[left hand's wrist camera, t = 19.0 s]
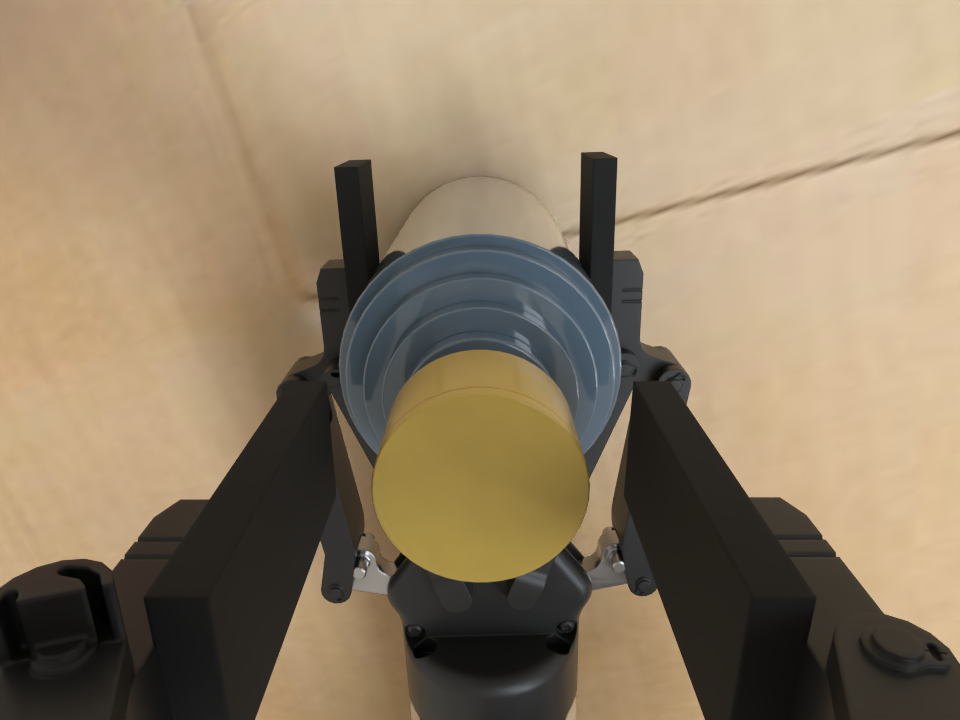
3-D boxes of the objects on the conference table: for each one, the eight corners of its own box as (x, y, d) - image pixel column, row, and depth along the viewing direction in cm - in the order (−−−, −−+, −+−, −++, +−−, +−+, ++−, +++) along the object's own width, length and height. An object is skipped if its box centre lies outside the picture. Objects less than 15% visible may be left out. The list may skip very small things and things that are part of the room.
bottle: (505, 141, 29) (544, 203, 11) (593, 284, 31) (740, 522, 13) (363, 238, 30) (205, 426, 13) (458, 368, 32) (432, 681, 15)
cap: (536, 535, 16) (545, 605, 13) (365, 487, 15) (347, 551, 13) (601, 381, 14) (624, 431, 12) (417, 323, 14) (405, 364, 12)
